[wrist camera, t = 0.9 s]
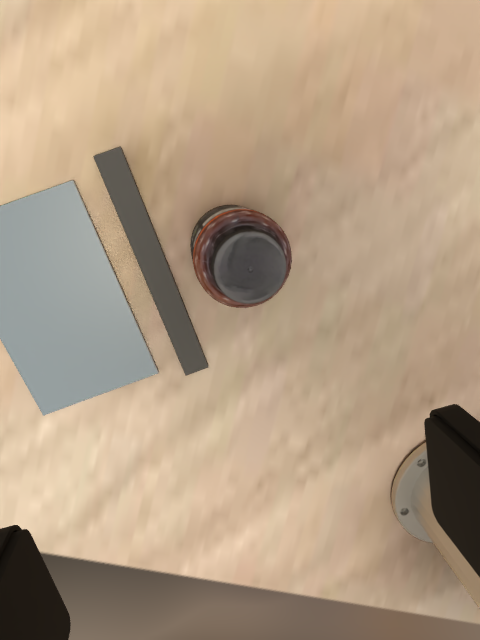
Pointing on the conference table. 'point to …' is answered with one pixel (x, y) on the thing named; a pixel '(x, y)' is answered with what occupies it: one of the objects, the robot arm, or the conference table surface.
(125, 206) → the bar
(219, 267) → the supplement bottle
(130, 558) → the conference table surface
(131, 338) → the pad
